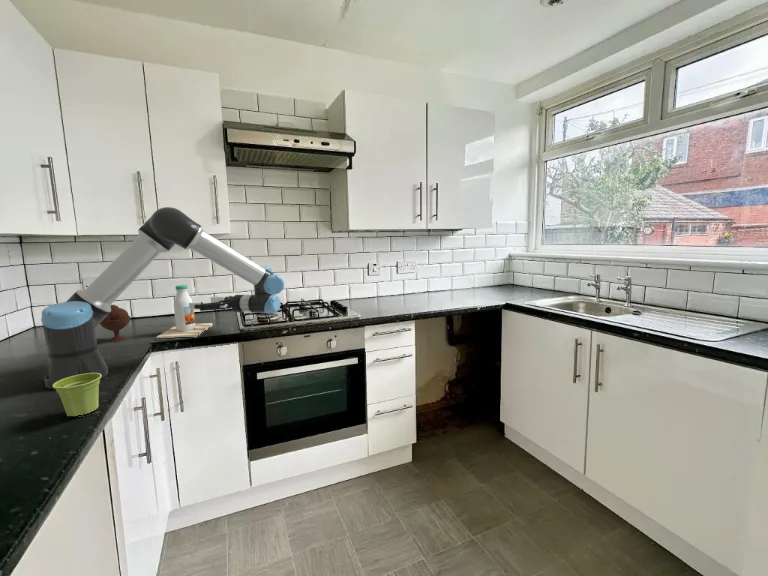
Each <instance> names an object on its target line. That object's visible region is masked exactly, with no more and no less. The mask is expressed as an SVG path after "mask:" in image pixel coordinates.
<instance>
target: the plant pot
mask: <svg viewBox="0 0 768 576" xmlns="http://www.w3.org/2000/svg"><path fill="white" fill-rule="evenodd" d="M101 377H102V375H101V374H100V373H86V374H80V375H75V376H71V377H68V378H64V379H62V380H59V381H57V382H56V383H54V384H53V388H55V389H54V390H55V391H56V393H57V394H58V395H59V398H60V399H61V403H62V405H63V409H64V411H65V414H66V416H67V417H68V416H78V415H83V414H87V413H90V412H92V411H94V410H96V409H97V408H98V407H99V401H100V399H99V397H100V395H99V394H100V393H99V390H100V389H99V388H100V383H101V379H100V378H101ZM98 409H99V408H98ZM98 409H97V410H98ZM78 417H79V416H78Z"/></svg>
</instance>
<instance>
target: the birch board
mask: <svg viewBox="0 0 768 576" xmlns="http://www.w3.org/2000/svg"><path fill="white" fill-rule="evenodd" d="M195 326H196V327H195V329H193V330H189V331H177V330H176V325H174V326H173V327H170V328H169V329H168V330H166V331H163V332H162V333H161V334H159V335H157V336H156V339H157V338H174V337H193V338H198V337H199V336H201V335H202V334H203V333H205V332H206V331H208V330H209V329H210V328H212V326H213V322H209V323H205V322H204V323H195ZM209 327H210V328H209ZM208 328H209V329H208ZM205 330H206V331H205ZM204 331H205V332H204ZM202 332H203V333H202ZM201 333H202V334H201ZM200 334H201V335H200ZM198 335H199V336H198ZM197 336H198V337H197Z"/></svg>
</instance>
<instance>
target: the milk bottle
mask: <svg viewBox="0 0 768 576" xmlns="http://www.w3.org/2000/svg"><path fill="white" fill-rule="evenodd" d="M175 291H176V296H175V299H174V301H173V311H174V321H175V326H176V330H177V331H189V330H193V329H195V327H196V326H195V324H196V319H195V318H196V316H195V309H189V303H194V302H193V300H192V298H191V296H190V295H189V292H188V285H187V284H179V285H178V284H177V285H176V286H175Z"/></svg>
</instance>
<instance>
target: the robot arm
mask: <svg viewBox="0 0 768 576" xmlns="http://www.w3.org/2000/svg"><path fill="white" fill-rule="evenodd" d="M137 230H138V232H137V233H138V236H137V237H136V238H135V239H134V240H133V241H132V242H131V243H130V244H129V245H128V246H127V247H126V248H125V249H124V250H123V251H122V252H121V253H120V254H119V255H118V256H117V257H116V258H115V259H114V261H112V262H111V263H110V265H108V266H107V268H105V269H104V271H102V272H101V273H100V275H98V276H97V277H96V279H94V280H93V281H92V282H91V284H89V285H88V287H86V288H85V289H78V290H76V291H75V292H74V293H73V294H72V295H71V296H70V297H69V298H68V299H67V300H66V301H64V302H58V303H54V304H51V305H48V306H47V307H44V308H43V310H42V311H41V319H40V321H41V323H42V326H43V333H44V337H45V344H46V351H47V355H48V356H47V357H48V364H47V367H46V371H45V376H44V385H45V388H47V389H50V390H51V389H52V390H56V389H55V388H53V384H54V383H56V382H57V381H59V380H62V379H64V378H68V377H71V376H75V375H80V374H86V373H100V374H101V375H102V377H101V378H100V380H102V379H103V378H105V377H107V375H108V374H109V369H108V368H109V367H108V365H107V364H106V362H105V360H104V358H103V357H102V355H101V354H100V352H99V349H98V348H99V347H98V340H97V336H96V335H97V334H96V327H98V325H100V324H99V323H100V322H101V321H102V320H103V319H104V318H105V317H106V316H107V315H108V314H109V313H110V312H111V305H113V303H114V302H115V301H116V299H118V298H119V297H120V296H121V294H123V292H125V290H126V289H127V288H128V287H129V286H130V285H131V284H133V282H134V281H135V280H136V279H137V278H138V277H139V276H140V274H142V273H143V272H144V271H145V269H147V268H148V266H150V264H152V263H153V261H154V260H155V259H156V258H157V257H158V256H160V254H161V253H166V252H167V253H168V252H169V251H171V249H172V248H173V247H175V246H178V247H181V248H183V249H184V250H191V251H193V252H195V253H198V254H199V255H201V256H202V257H204V258H206V259H208V260H210V261H212V262H213V263H215V264H217V265H218V266H220V267H222V268H224V269H225V270H226V271H229V272H230V273H232V274H234V275H236V276H238V277H239V278H241V279H242V280H244V281H246V282H249V284H252V285H253V293H254V294H235V295H229V296H210V302H205V303H204V302H203V301H200V302H193V303H189V309H194V310H199V311H200V312H203V311H205V312H206V311H218V310H219V311H220V310H222V311H223V310H230V309H232V311H233V312H234V313H249V314H253V313H259V314H273V313H274V314H275V313H277V312H278V311H280V307H281V299H280V297H279V294H280V293H282V291H283V290H284V288H285V281H284V279H283V278H282V277H281V276H280V275H278V274H275V273H273V270H272V267H271V266H267V265H266V266H265V265H264V266H263V265H261V264H259V263H257V262H255V261H254V260H253V259H252V258H249V257H248V256H245V255H244V254H242V253H241V252H239V251H238V250H236V249H234V248H232V247H231V246H230V245H228V244H226V243H225V242H222V241H221V240H220V239H218V238H216V237H215V236H213V235H212V234H210V233H208V232H206V231H204V228H203V226H202V225H200V224H199V223H198V222H197V221H194V220H193V219H192V218H190V217H189V216H188V215H187V214H185V213H184V212H183V211H181V210H180V209H178V208H175V207H171V206H168V207H167V206H166V207H160V208H158V209H157V210H155V212H153V213H152V215H151V216H150V217H149V218H148V219H147V220H146V221H145V222H144V223H143V224H142V225H141V226H140V227H139V228H138V229H137Z"/></svg>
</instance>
